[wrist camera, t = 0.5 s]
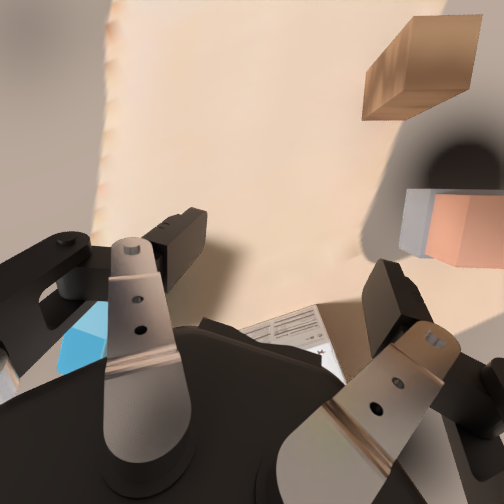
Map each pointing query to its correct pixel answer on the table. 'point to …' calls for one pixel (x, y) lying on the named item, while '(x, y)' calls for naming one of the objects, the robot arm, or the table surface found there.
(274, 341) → the supplement box
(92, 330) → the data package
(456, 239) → the brick block
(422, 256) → the slate block
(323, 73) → the table surface
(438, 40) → the walnut pillar
